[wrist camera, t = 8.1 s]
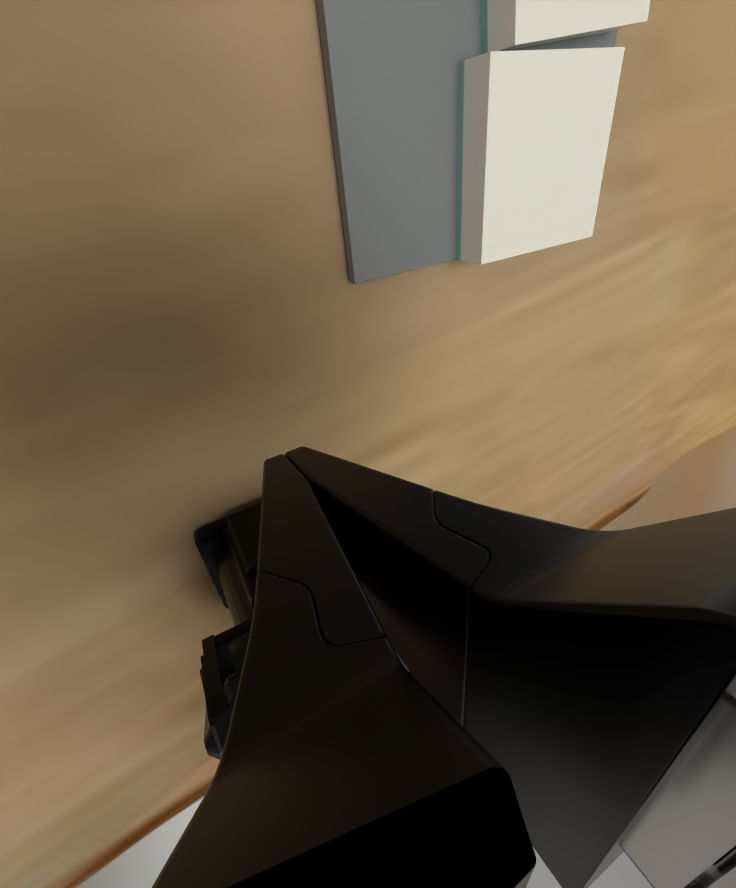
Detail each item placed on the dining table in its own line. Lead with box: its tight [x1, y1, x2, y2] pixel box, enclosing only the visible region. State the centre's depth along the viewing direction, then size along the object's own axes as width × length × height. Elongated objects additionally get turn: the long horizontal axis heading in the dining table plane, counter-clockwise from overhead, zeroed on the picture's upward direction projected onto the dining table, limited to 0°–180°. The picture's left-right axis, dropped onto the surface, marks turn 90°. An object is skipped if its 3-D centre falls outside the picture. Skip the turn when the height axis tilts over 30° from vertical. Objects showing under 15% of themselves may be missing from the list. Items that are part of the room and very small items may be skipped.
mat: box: [316, 0, 618, 284], centre depth 20 cm, size 16×16×1 cm
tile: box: [456, 47, 625, 264], centre depth 22 cm, size 8×2×8 cm
